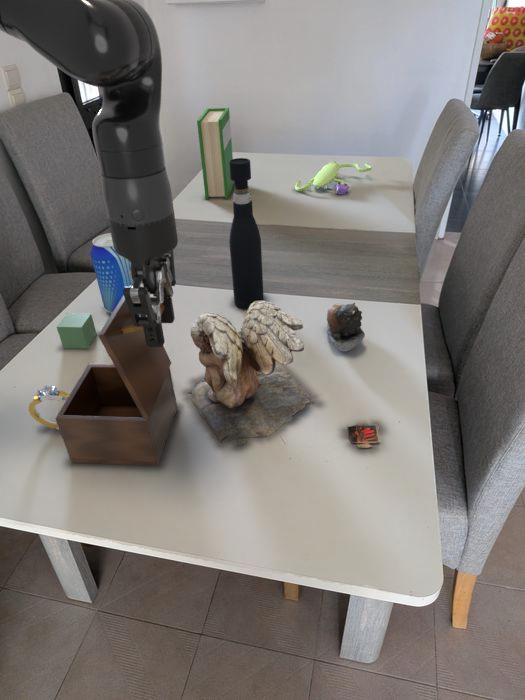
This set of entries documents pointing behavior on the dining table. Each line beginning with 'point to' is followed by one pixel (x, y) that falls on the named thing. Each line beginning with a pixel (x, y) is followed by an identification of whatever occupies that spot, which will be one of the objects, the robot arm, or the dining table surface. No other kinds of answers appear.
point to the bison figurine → (344, 326)
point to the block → (77, 331)
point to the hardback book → (216, 151)
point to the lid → (135, 357)
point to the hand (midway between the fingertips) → (161, 332)
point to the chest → (114, 420)
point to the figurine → (331, 177)
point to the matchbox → (363, 434)
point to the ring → (44, 394)
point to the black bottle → (244, 240)
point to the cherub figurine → (248, 372)
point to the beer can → (110, 271)
